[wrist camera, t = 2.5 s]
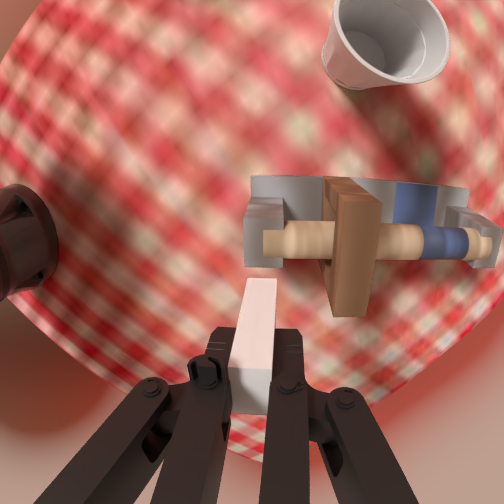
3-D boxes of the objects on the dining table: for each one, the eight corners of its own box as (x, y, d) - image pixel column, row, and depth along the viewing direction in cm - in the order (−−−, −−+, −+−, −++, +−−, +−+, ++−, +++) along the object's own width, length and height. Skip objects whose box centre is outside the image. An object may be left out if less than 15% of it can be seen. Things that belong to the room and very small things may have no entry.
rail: (253, 250, 32) (244, 292, 25) (251, 175, 29) (241, 193, 21) (454, 254, 30) (491, 288, 23) (465, 188, 27) (510, 209, 20)
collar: (318, 260, 31) (333, 317, 21) (322, 176, 27) (345, 201, 18) (342, 260, 30) (365, 316, 21) (348, 177, 27) (382, 203, 18)
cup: (404, 81, 24) (469, 64, 13) (340, 111, 26) (379, 102, 15) (363, 15, 22) (405, -35, 11) (296, 43, 24) (307, -6, 13)
